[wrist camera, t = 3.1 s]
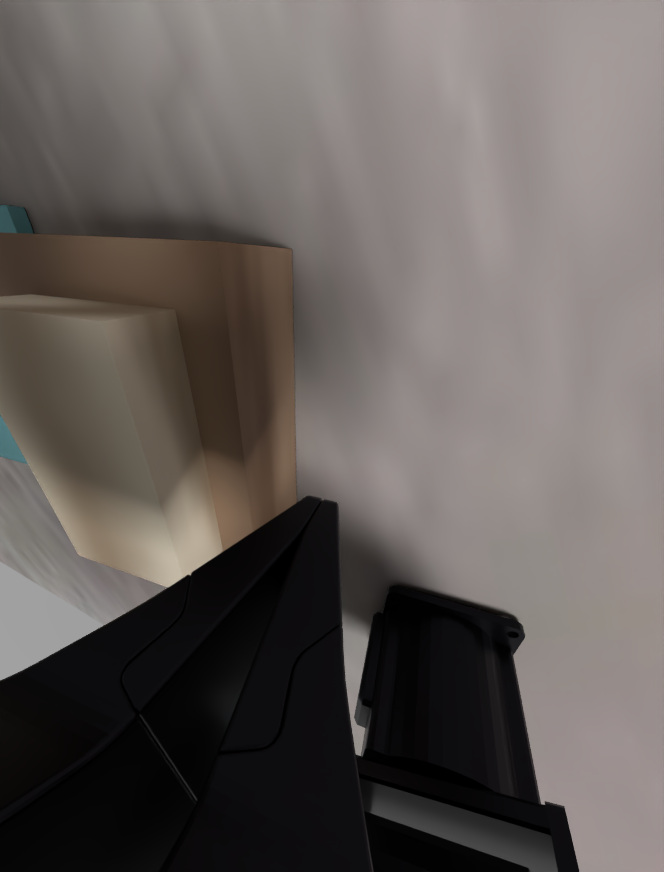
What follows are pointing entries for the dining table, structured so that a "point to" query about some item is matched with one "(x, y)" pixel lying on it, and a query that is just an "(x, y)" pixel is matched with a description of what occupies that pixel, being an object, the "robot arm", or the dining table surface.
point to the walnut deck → (198, 345)
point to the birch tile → (110, 430)
